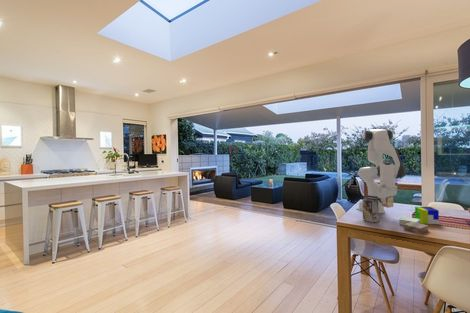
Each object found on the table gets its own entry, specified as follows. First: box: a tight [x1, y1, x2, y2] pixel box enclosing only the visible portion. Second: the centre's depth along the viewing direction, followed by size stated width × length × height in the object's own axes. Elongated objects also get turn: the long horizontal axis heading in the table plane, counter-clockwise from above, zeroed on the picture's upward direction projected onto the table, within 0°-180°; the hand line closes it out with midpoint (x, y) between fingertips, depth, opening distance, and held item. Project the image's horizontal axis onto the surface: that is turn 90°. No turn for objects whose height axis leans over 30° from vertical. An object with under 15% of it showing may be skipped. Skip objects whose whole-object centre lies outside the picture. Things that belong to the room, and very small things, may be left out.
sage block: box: [399, 216, 421, 226], centre depth 170 cm, size 10×10×4 cm
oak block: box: [382, 197, 394, 209], centre depth 171 cm, size 5×5×7 cm
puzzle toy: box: [414, 206, 440, 225], centre depth 174 cm, size 10×10×10 cm
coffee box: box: [362, 198, 379, 224], centre depth 181 cm, size 9×6×16 cm
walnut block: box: [403, 222, 429, 235], centre depth 158 cm, size 10×10×4 cm
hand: (387, 202), depth 171 cm, fingers closed on oak block, 5 cm apart
